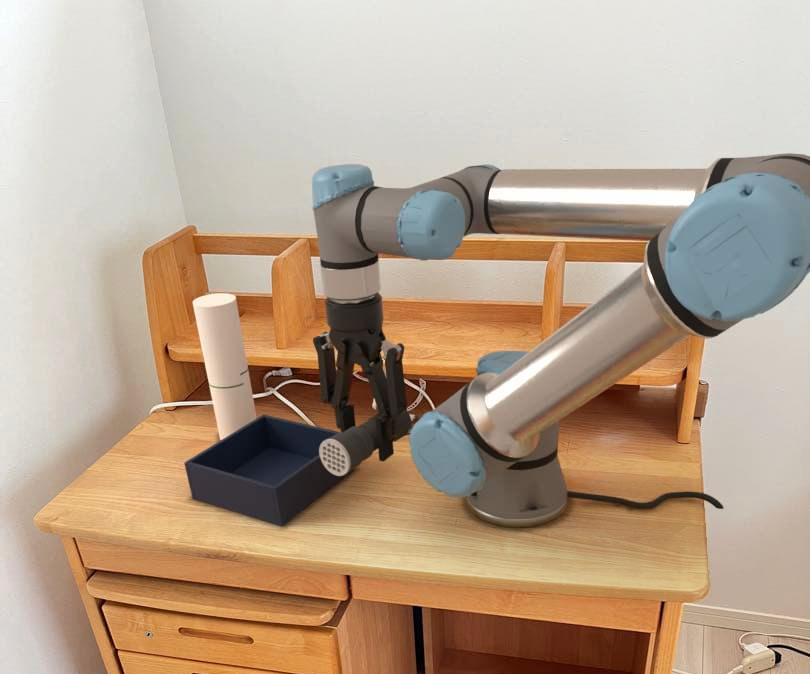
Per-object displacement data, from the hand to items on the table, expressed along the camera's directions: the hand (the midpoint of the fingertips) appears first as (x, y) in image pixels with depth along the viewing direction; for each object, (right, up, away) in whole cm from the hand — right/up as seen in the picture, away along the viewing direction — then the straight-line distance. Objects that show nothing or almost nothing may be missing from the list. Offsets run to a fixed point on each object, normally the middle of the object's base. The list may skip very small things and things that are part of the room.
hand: (368, 452), depth 120 cm
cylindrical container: (-25, +6, +30) cm, 40 cm away
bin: (-16, -4, +14) cm, 22 cm away
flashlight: (0, -1, 0) cm, 1 cm away
